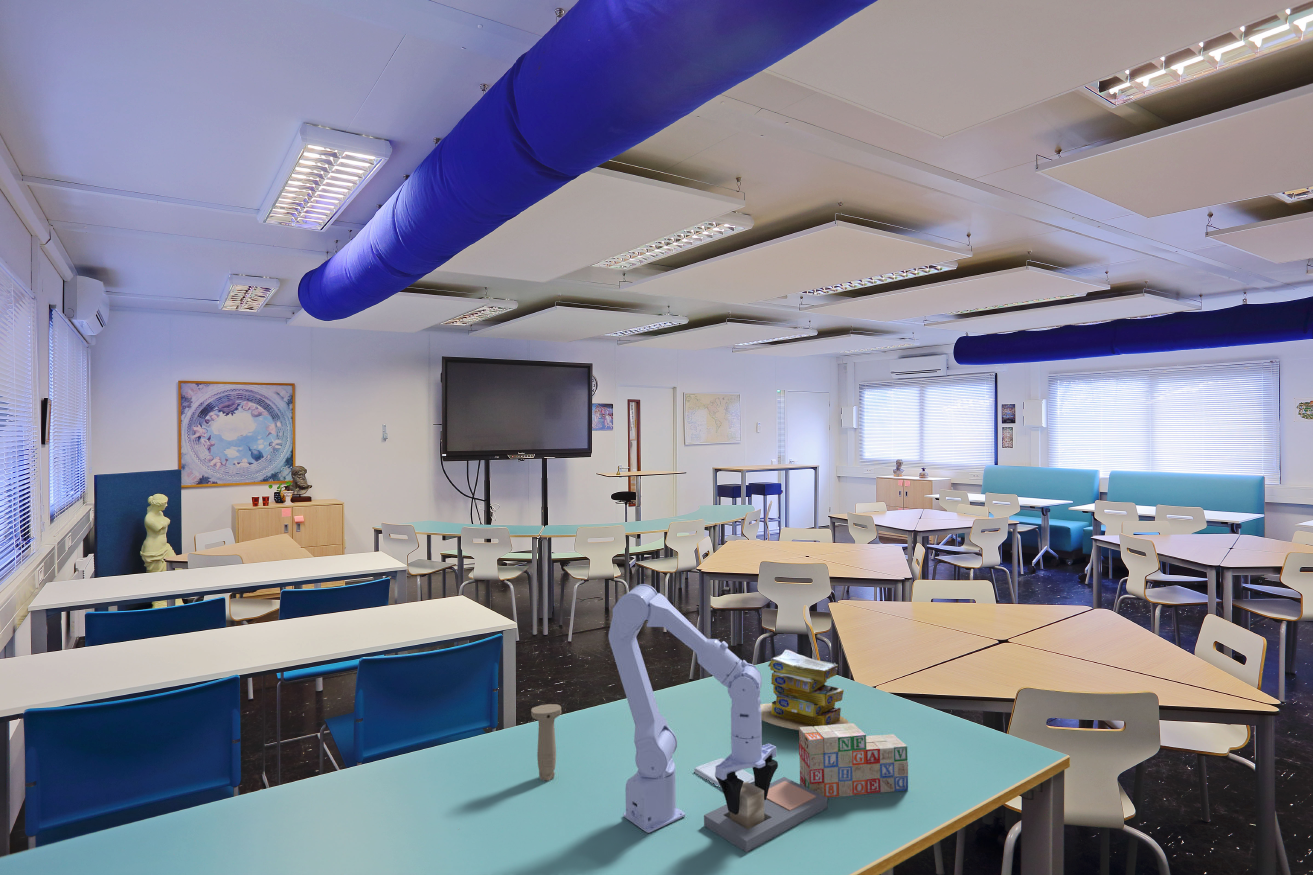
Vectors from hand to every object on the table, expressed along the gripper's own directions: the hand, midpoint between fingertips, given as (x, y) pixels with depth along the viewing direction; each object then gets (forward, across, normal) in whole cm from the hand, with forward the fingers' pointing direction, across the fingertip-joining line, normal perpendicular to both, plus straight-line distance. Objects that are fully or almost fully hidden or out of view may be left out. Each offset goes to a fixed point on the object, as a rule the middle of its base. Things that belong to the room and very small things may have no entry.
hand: (747, 804), depth 129 cm
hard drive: (+5, +10, +16) cm, 20 cm away
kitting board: (+4, +5, 0) cm, 7 cm away
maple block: (+4, 0, 0) cm, 4 cm away
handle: (+4, -20, +41) cm, 46 cm away
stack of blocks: (+5, +28, -4) cm, 28 cm away
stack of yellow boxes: (+4, +45, +24) cm, 51 cm away
